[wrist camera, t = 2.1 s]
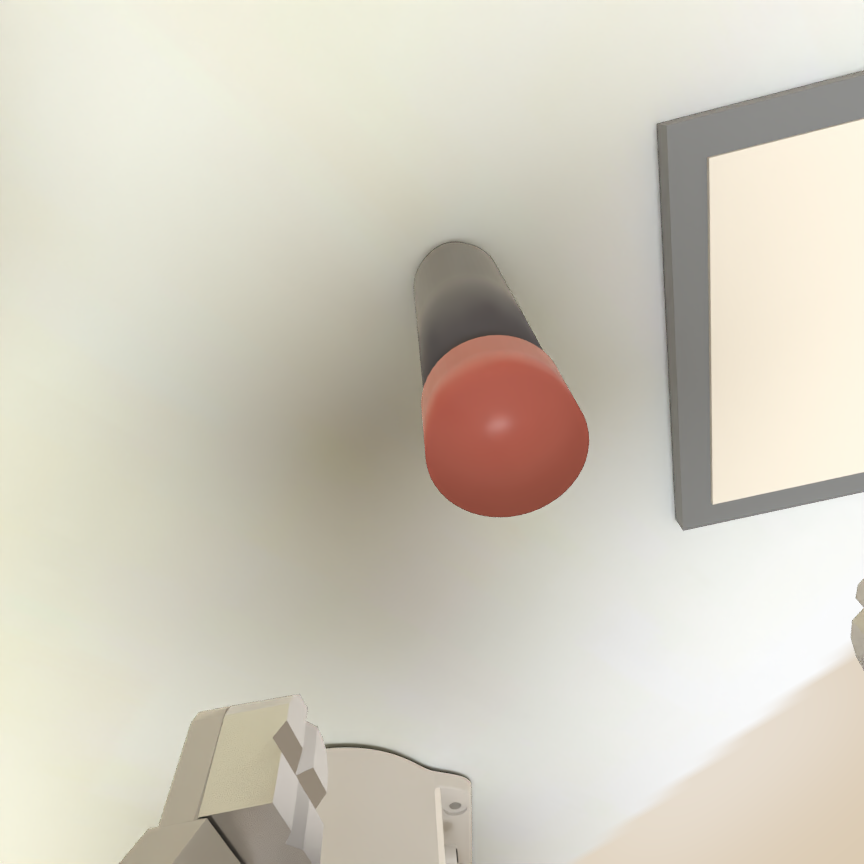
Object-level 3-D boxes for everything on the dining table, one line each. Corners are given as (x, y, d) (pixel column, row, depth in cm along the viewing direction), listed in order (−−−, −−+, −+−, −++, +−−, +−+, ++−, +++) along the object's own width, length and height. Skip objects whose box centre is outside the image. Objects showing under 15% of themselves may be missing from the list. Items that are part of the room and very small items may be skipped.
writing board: (976, 454, 33) (995, 466, 32) (675, 519, 34) (684, 532, 33) (1082, 14, 24) (1114, 11, 22) (657, 123, 25) (668, 125, 24)
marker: (504, 308, 28) (596, 498, 15) (421, 328, 28) (445, 531, 16) (489, 222, 26) (579, 358, 13) (400, 244, 26) (407, 398, 14)
